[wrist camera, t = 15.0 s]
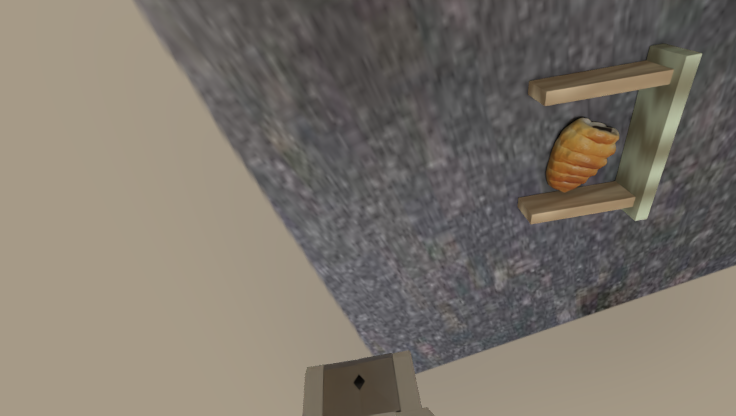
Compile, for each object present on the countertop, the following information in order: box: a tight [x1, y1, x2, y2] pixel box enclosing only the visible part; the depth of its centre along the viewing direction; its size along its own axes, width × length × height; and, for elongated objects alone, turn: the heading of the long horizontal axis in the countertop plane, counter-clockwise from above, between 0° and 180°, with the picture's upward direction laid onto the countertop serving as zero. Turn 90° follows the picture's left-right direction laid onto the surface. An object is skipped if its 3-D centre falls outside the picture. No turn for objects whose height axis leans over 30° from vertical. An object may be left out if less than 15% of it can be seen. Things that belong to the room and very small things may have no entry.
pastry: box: [546, 118, 619, 192], centre depth 46 cm, size 9×7×4 cm
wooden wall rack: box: [518, 44, 702, 224], centre depth 44 cm, size 20×14×5 cm
